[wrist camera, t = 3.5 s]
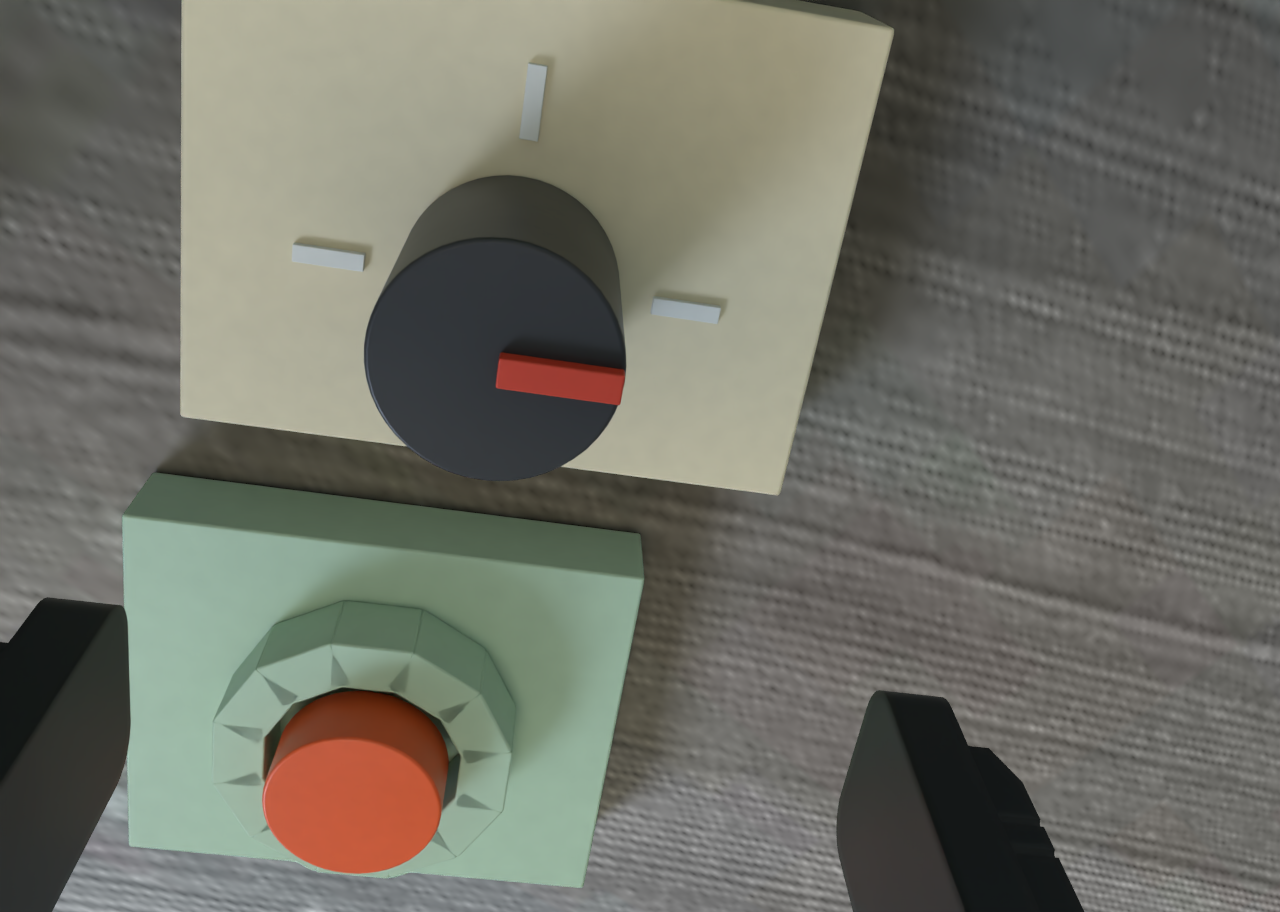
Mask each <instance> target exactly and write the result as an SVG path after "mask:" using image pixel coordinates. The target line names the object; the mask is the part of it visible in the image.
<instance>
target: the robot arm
mask: <svg viewBox="0 0 1280 912" xmlns="http://www.w3.org/2000/svg"><path fill="white" fill-rule="evenodd" d="M130 728H131V715H130V680H129V645H128V620H127V615H126V612H125V609H124V608H123V607H122V606H121V605H112V604H103V603H94V602H84V601H75V600H66V599H57V598H44V599H43V600H41V601H40V602H39V603H38V604H37V606H36V607H35V608H34V610H33V611H32V612H31V614H30V615H29V616H28V618H27V619H26V620H25V622H24V623H23V624H22V626H21V627H20V628H19V630H18V631H17V632H16V634H15V635H14V636H13V638H12V639H11V640H10V642H9V643H3V642H0V912H52V910H53V908H54V907H55V905H56V903H57V901H58V899H59V897H60V895H61V893H62V891H63V889H64V887H65V885H66V883H67V881H68V879H69V877H70V875H71V873H72V872H73V870H74V868H75V866H76V864H77V862H78V860H79V858H80V856H81V854H82V852H83V850H84V848H85V846H86V844H87V842H88V840H89V838H90V837H91V835H92V833H93V831H94V829H95V827H96V825H97V823H98V821H99V819H100V817H101V815H102V813H103V811H104V809H105V807H106V805H107V803H108V802H109V800H110V798H111V796H112V794H113V792H114V790H115V788H116V786H117V784H118V781H119V779H120V776H121V773H122V770H123V767H124V764H125V760H126V756H127V751H128V745H129V739H130ZM837 847H838V853H839V858H840V862H841V866H842V870H843V874H844V878H845V882H846V885H847V889H848V893H849V897H850V901H851V905H852V909H853V912H1084V910H1083V908H1082V906H1081V904H1080V902H1079V900H1078V898H1077V896H1076V893H1075V891H1074V889H1073V887H1072V885H1071V883H1070V881H1069V879H1068V877H1067V875H1066V873H1065V870H1064V868H1063V866H1062V864H1061V862H1060V860H1059V858H1055V856H1054V851H1055V850H1054V847H1053V845H1052V843H1051V841H1050V839H1049V837H1048V835H1047V833H1046V831H1045V829H1044V827H1040V818H1039V816H1038V814H1037V812H1036V810H1035V808H1034V806H1033V804H1032V801H1031V799H1030V797H1029V795H1028V793H1027V791H1026V789H1025V787H1024V785H1023V783H1022V782H1021V781H1020V780H1019V778H1018V777H1017V776H1016V775H1015V774H1014V773H1013V772H1012V771H1011V770H1010V769H1009V768H1008V767H1007V766H1006V765H1005V764H1004V763H1003V762H1002V761H1001V760H1000V759H999V758H998V757H997V756H996V755H995V754H994V753H993V752H992V751H991V750H990V749H989V748H981V747H972V746H968V745H967V742H966V740H965V738H964V735H963V733H962V731H961V728H960V726H959V724H958V722H957V719H956V717H955V715H954V712H953V710H952V708H951V706H950V704H949V702H948V701H947V700H946V699H945V698H943V697H935V696H926V695H916V694H907V693H898V692H889V691H880V690H879V691H876V692H875V693H874V694H873V696H872V697H871V699H870V701H869V703H868V706H867V709H866V713H865V716H864V719H863V723H862V726H861V729H860V733H859V736H858V739H857V743H856V746H855V749H854V752H853V756H852V759H851V762H850V766H849V769H848V772H847V776H846V779H845V782H844V786H843V789H842V792H841V796H840V800H839V805H838V813H837Z"/></svg>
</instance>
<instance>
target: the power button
mask: <svg viewBox="0 0 1280 912" xmlns="http://www.w3.org/2000/svg"><path fill="white" fill-rule="evenodd" d="M448 765H449V758H448V751H447V747H446V744H445V741H444V739H443V737H442V735H441V733H440V732H439V730H438V729H437V727H436V726H435V724H434V723H433V722H432V721H431V720H430V719H429V718H428V717H427V716H426V715H425V714H424V713H423V712H422V711H420V710H419V709H417V708H416V707H414V706H413V705H411V704H409V703H407V702H405V701H403V700H401V699H399V698H396V697H393V696H390V695H387V694H383V693H378V692H372V691H346V692H339V693H335V694H331V695H327V696H324V697H322V698H320V699H317V700H315V701H313V702H312V703H310V704H308V705H307V706H305V707H304V708H303V709H301V710H300V711H299V712H297V713H296V714H295V715H294V716H293V717H292V718H291V720H290V721H289V723H288V724H287V725H286V727H285V729H284V731H283V733H282V735H281V738H280V741H279V744H278V747H277V749H276V752H275V755H274V758H273V761H272V764H271V767H270V770H269V772H268V775H267V778H266V781H265V784H264V787H263V794H262V807H263V812H264V816H265V819H266V822H267V824H268V826H269V828H270V830H271V832H272V833H273V835H274V836H275V837H276V839H277V840H278V841H279V842H280V843H281V844H282V845H283V846H284V847H285V848H286V849H287V850H288V851H290V852H291V853H292V854H294V855H295V856H297V857H298V858H300V859H302V860H303V861H306V862H308V863H310V864H312V865H314V866H317V867H320V868H323V869H326V870H331V871H335V872H342V873H354V874H361V873H373V872H379V871H383V870H387V869H391V868H393V867H396V866H399V865H401V864H403V863H405V862H407V861H409V860H410V859H412V858H413V857H415V856H416V855H417V854H419V853H420V852H421V851H422V850H423V849H424V848H425V847H426V846H427V845H428V843H429V842H430V841H431V840H432V838H433V836H434V835H435V833H436V831H437V829H438V826H439V824H440V819H441V814H442V807H443V801H444V794H445V787H446V781H447V774H448Z"/></svg>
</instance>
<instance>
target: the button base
mask: <svg viewBox="0 0 1280 912" xmlns="http://www.w3.org/2000/svg"><path fill="white" fill-rule="evenodd" d="M122 534H123V582H124V609H125V612H126V615H127V620H128V645H129V680H130V715H131V728H130V739H129V745H128V751H127V778H128V827H129V846H131V847H142V848H153V849H164V850H175V851H185V852H196V853H207V854H218V855H229V856H240V857H250V858H261V859H272V860H283V861H294V862H297V863H299V864H301V865H303V866H305V867H307V868H309V869H311V870H316V871H317V872H321V873H332V874H343V875H354V876H365V877H376V878H389V877H390V878H394V877H397V876H400V875H404V874H407V873H410V872H413V873H424V874H435V875H445V876H456V877H467V878H478V879H489V880H500V881H510V882H521V883H532V884H543V885H554V886H564V887H575V888H582V887H583V885H584V881H585V876H586V871H587V866H588V861H589V856H590V851H591V846H592V841H593V836H594V831H595V826H596V821H597V816H598V811H599V806H600V801H601V796H602V791H603V786H604V780H605V775H606V770H607V765H608V760H609V755H610V750H611V745H612V740H613V735H614V730H615V725H616V720H617V715H618V710H619V705H620V700H621V695H622V690H623V685H624V680H625V675H626V670H627V665H628V660H629V655H630V650H631V645H632V640H633V635H634V630H635V625H636V620H637V615H638V610H639V605H640V600H641V595H642V590H643V585H644V569H643V557H642V545H641V536H640V534H638V533H630V532H622V531H614V530H606V529H598V528H590V527H582V526H574V525H566V524H558V523H550V522H542V521H535V520H527V519H519V518H511V517H503V516H495V515H487V514H479V513H471V512H463V511H455V510H447V509H440V508H432V507H424V506H416V505H408V504H400V503H392V502H384V501H376V500H368V499H360V498H352V497H344V496H337V495H329V494H321V493H313V492H305V491H297V490H289V489H281V488H273V487H265V486H257V485H249V484H241V483H234V482H226V481H218V480H210V479H202V478H194V477H186V476H178V475H170V474H162V473H152V475H151V476H150V477H149V479H148V480H147V482H146V483H145V484H144V486H143V487H142V489H141V490H140V491H139V493H138V494H137V496H136V497H135V498H134V500H133V501H132V503H131V504H130V505H129V507H128V508H127V510H126V511H125V512H124V514H123V515H122ZM346 691H372V692H378V693H383V694H387V695H390V696H393V697H396V698H399V699H401V700H403V701H405V702H407V703H409V704H411V705H413V706H414V707H416V708H417V709H419V710H420V711H422V712H423V713H424V714H425V715H426V716H427V717H428V718H429V719H430V720H431V721H432V722H433V723H434V724H435V726H436V727H437V729H438V730H439V732H440V733H441V735H442V737H443V739H444V741H445V744H446V747H447V751H448V758H449V765H448V774H447V781H446V787H445V794H444V801H443V807H442V814H441V819H440V824H439V826H438V829H437V831H436V833H435V835H434V836H433V838H432V840H431V841H430V842H429V843H428V845H427V846H426V847H425V848H424V849H423V850H422V851H421V852H420V853H419V854H417V855H416V856H415V857H413V858H412V859H410V860H409V861H407V862H405V863H403V864H401V865H399V866H396V867H393V868H391V869H387V870H383V871H379V872H373V873H361V874H354V873H342V872H335V871H331V870H326V869H323V868H320V867H317V866H314V865H312V864H310V863H308V862H306V861H303V860H302V859H300V858H298V857H297V856H295V855H294V854H292V853H291V852H290V851H288V850H287V849H286V848H285V847H284V846H283V845H282V844H281V843H280V842H279V841H278V840H277V839H276V837H275V836H274V835H273V833H272V832H271V830H270V828H269V826H268V824H267V822H266V819H265V816H264V812H263V807H262V794H263V787H264V784H265V781H266V778H267V775H268V772H269V770H270V767H271V764H272V761H273V758H274V755H275V752H276V749H277V747H278V744H279V741H280V738H281V735H282V733H283V731H284V729H285V727H286V725H287V724H288V723H289V721H290V720H291V718H292V717H293V716H294V715H295V714H296V713H297V712H299V711H300V710H301V709H303V708H304V707H305V706H307V705H308V704H310V703H312V702H313V701H315V700H317V699H320V698H322V697H324V696H327V695H331V694H335V693H339V692H346Z"/></svg>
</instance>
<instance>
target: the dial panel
mask: <svg viewBox="0 0 1280 912" xmlns="http://www.w3.org/2000/svg"><path fill="white" fill-rule="evenodd" d="M893 36H894V29H893V28H892V27H890V26H888V25H886V24H884V23H882V22H880V21H878V20H876V19H874V18H872V17H870V16H868V15H866V14H864V13H862V12H860V11H855V10H850V9H844V8H839V7H833V6H828V5H822V4H816V3H811V2H805V1H800V0H182V22H181V329H180V413H181V416H183V417H187V418H195V419H202V420H210V421H217V422H225V423H233V424H240V425H248V426H255V427H263V428H271V429H278V430H286V431H293V432H301V433H309V434H316V435H324V436H331V437H339V438H347V439H354V440H362V441H369V442H377V443H385V444H392V445H400V446H406V445H405V444H404V443H403V442H402V441H401V440H400V439H399V438H398V437H397V436H396V435H395V434H394V433H393V431H392V430H391V429H390V428H389V426H388V425H387V424H386V423H385V421H384V419H383V418H382V416H381V414H380V413H379V411H378V409H377V407H376V405H375V403H374V401H373V398H372V396H371V394H370V390H369V387H368V383H367V380H366V374H365V367H364V341H365V334H366V329H367V325H368V322H369V319H370V315H371V313H372V311H373V309H374V306H375V304H376V302H377V300H378V298H379V296H380V294H381V292H382V290H383V287H384V285H385V283H386V281H387V279H388V277H389V275H390V273H391V271H392V269H393V267H394V265H395V263H396V260H397V258H398V256H399V254H400V252H401V250H402V248H403V246H404V244H405V242H406V240H407V238H408V236H409V233H410V231H411V229H412V228H413V226H414V225H415V223H416V221H417V220H418V218H419V217H420V216H421V215H422V213H423V212H424V211H425V210H426V209H427V208H428V207H429V206H430V205H431V204H432V203H433V202H434V201H435V200H437V199H438V198H439V197H440V196H442V195H443V194H445V193H446V192H448V191H449V190H451V189H453V188H455V187H457V186H459V185H461V184H463V183H466V182H469V181H472V180H475V179H479V178H484V177H490V176H502V175H512V176H522V177H528V178H532V179H537V180H540V181H543V182H545V183H548V184H551V185H553V186H555V187H557V188H559V189H561V190H563V191H565V192H567V193H568V194H569V195H571V196H572V197H574V198H575V199H577V200H578V201H579V202H580V203H581V204H583V205H584V206H585V207H586V208H587V209H588V210H589V211H590V212H591V213H592V215H593V216H594V217H595V218H596V219H597V220H598V222H599V223H600V225H601V226H602V228H603V229H604V231H605V232H606V234H607V236H608V238H609V240H610V243H611V245H612V247H613V250H614V253H615V256H616V260H617V265H618V271H619V279H620V290H621V302H622V313H623V324H624V335H625V346H626V376H625V384H624V388H623V393H622V398H621V404H620V405H618V407H617V409H616V412H615V413H614V415H613V417H612V419H611V420H610V422H609V424H608V426H607V427H606V428H605V430H604V431H603V432H602V433H601V435H600V436H599V437H598V439H597V440H595V441H594V442H593V443H592V444H591V445H590V446H589V447H588V448H587V449H586V450H585V451H584V452H582V453H581V454H580V455H578V456H577V457H576V458H575V459H573V460H571V461H569V462H568V463H566V464H564V465H563V466H561V467H567V468H575V469H582V470H590V471H597V472H605V473H613V474H620V475H628V476H635V477H643V478H651V479H658V480H666V481H673V482H681V483H689V484H696V485H704V486H711V487H719V488H727V489H734V490H742V491H749V492H757V493H765V494H772V495H779V494H780V492H781V489H782V485H783V481H784V476H785V472H786V468H787V464H788V460H789V456H790V452H791V448H792V444H793V440H794V436H795V432H796V428H797V424H798V420H799V416H800V412H801V408H802V404H803V400H804V396H805V392H806V388H807V384H808V380H809V375H810V371H811V367H812V363H813V359H814V355H815V351H816V347H817V343H818V339H819V335H820V331H821V327H822V323H823V319H824V315H825V311H826V307H827V303H828V299H829V295H830V291H831V287H832V283H833V279H834V275H835V270H836V266H837V262H838V258H839V254H840V250H841V246H842V242H843V238H844V234H845V230H846V226H847V222H848V218H849V214H850V210H851V206H852V202H853V198H854V194H855V190H856V186H857V182H858V178H859V174H860V169H861V165H862V161H863V157H864V153H865V149H866V145H867V141H868V137H869V133H870V129H871V125H872V121H873V117H874V113H875V109H876V105H877V101H878V97H879V93H880V89H881V85H882V81H883V77H884V73H885V68H886V64H887V60H888V56H889V52H890V48H891V44H892V40H893Z"/></svg>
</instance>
